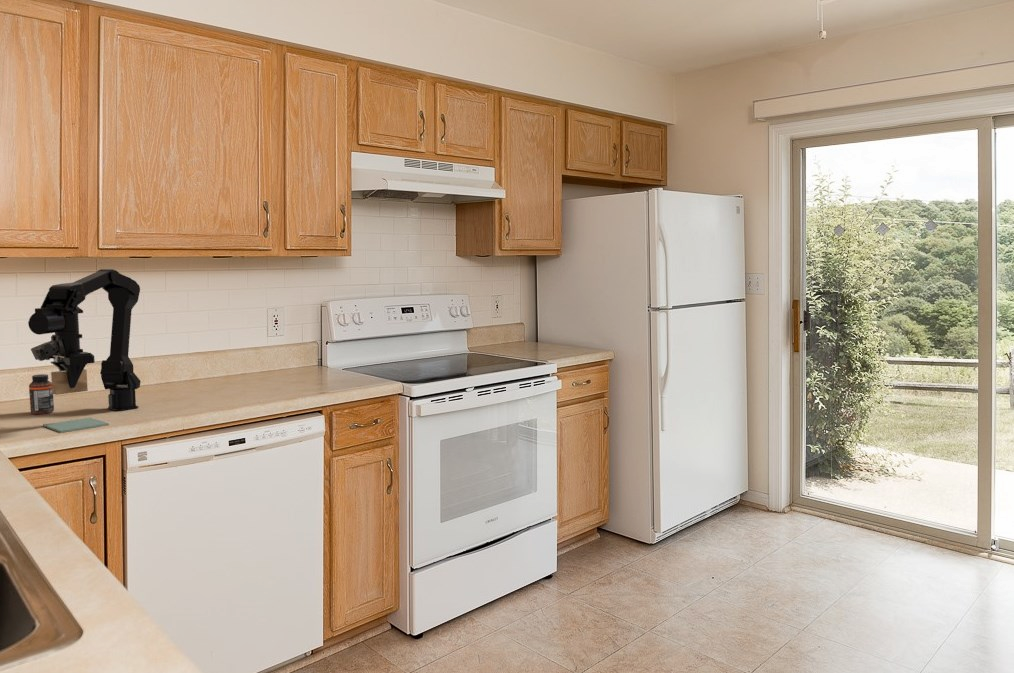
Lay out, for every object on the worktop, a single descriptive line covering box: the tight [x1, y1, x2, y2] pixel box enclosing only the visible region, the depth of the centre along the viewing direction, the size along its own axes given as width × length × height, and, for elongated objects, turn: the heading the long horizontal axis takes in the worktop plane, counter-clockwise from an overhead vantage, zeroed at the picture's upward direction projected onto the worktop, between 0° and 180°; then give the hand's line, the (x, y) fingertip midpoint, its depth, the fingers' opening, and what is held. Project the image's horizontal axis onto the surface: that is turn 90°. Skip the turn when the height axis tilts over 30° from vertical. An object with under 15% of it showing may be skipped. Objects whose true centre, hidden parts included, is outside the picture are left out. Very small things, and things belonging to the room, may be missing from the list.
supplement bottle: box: [28, 373, 55, 415], centre depth 217 cm, size 6×6×11 cm
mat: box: [42, 416, 109, 434], centre depth 201 cm, size 12×12×1 cm
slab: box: [50, 368, 89, 396], centre depth 201 cm, size 8×2×6 cm, turn 142°
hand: (70, 387), depth 201 cm, fingers closed on slab, 2 cm apart
